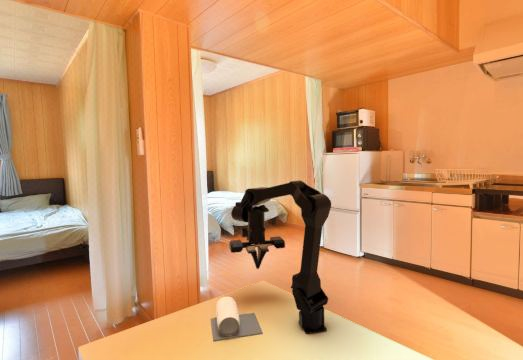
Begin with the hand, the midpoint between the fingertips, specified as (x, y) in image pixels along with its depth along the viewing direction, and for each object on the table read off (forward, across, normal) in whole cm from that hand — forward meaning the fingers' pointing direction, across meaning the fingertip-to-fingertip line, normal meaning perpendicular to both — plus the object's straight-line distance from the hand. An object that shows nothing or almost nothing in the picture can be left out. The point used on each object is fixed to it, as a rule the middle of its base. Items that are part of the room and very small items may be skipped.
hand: (257, 268), depth 107 cm
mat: (+12, +10, +14) cm, 21 cm away
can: (+8, +12, +7) cm, 16 cm away
